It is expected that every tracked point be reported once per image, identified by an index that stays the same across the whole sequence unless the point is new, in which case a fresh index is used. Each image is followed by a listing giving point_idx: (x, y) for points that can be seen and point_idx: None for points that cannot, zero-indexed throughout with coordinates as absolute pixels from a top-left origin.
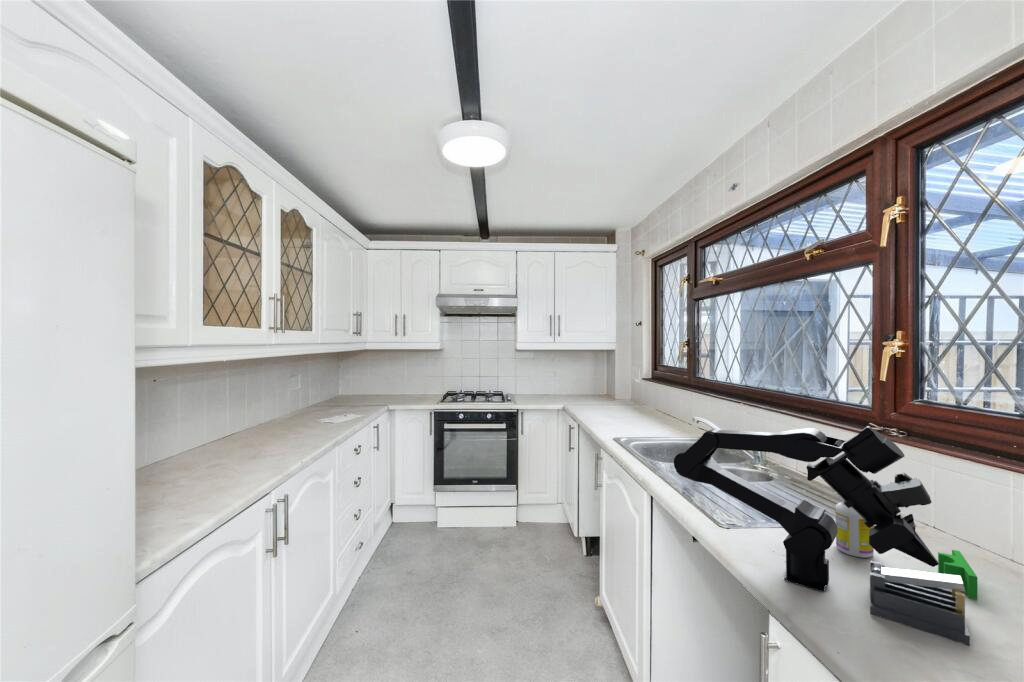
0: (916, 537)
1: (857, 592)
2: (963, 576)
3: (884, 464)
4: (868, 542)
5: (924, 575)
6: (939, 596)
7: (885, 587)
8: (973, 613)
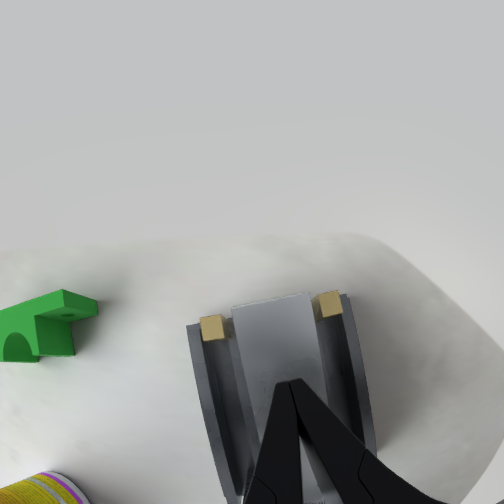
0: (395, 501)
1: None
2: (49, 319)
3: None
4: (52, 495)
5: None
6: None
7: None
8: (167, 305)
